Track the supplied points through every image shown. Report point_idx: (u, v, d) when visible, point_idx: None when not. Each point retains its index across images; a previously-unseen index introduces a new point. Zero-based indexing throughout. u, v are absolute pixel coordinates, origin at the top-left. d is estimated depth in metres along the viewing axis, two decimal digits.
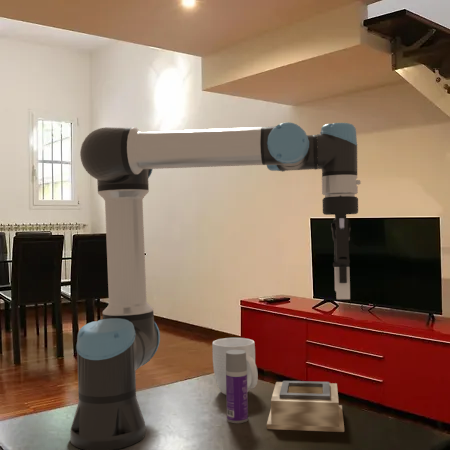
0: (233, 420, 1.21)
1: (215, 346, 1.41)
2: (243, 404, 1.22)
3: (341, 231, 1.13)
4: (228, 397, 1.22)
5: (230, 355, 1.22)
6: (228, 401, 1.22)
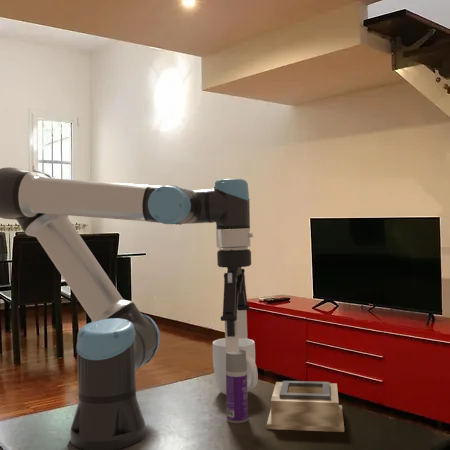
0: (233, 420, 1.21)
1: (215, 346, 1.41)
2: (243, 404, 1.22)
3: (229, 286, 1.16)
4: (228, 397, 1.22)
5: (230, 355, 1.22)
6: (228, 401, 1.22)
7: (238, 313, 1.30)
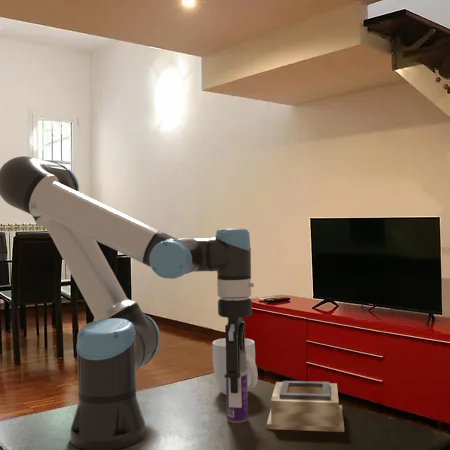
0: (233, 420, 1.21)
1: (215, 346, 1.41)
2: (244, 404, 1.22)
3: (230, 345, 1.17)
4: (228, 397, 1.22)
5: None
6: (228, 401, 1.22)
7: None
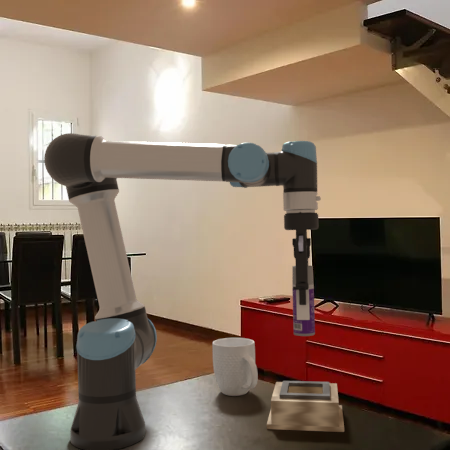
0: (301, 333, 1.21)
1: (215, 346, 1.41)
2: (311, 317, 1.21)
3: (300, 255, 1.17)
4: (295, 311, 1.21)
5: None
6: (295, 315, 1.21)
7: None
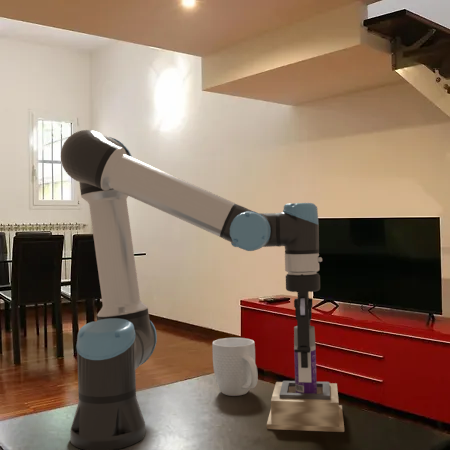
0: None
1: (215, 346, 1.41)
2: (313, 379, 1.21)
3: (302, 319, 1.17)
4: (297, 372, 1.21)
5: None
6: (297, 376, 1.21)
7: None
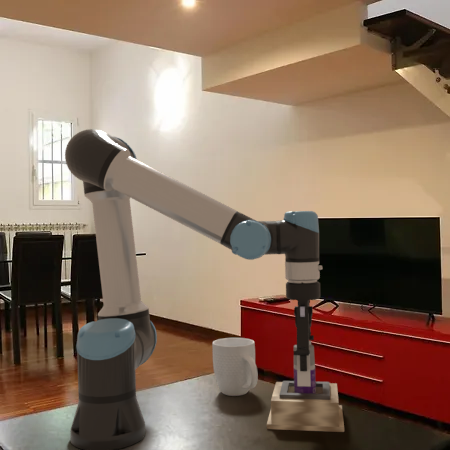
0: None
1: (215, 346, 1.41)
2: None
3: (302, 320, 1.16)
4: (297, 391, 1.21)
5: None
6: None
7: None
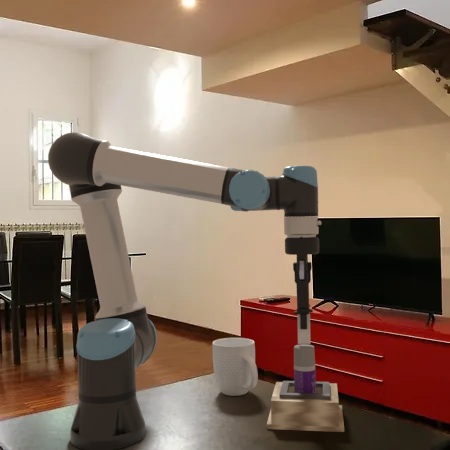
0: None
1: (215, 346, 1.41)
2: None
3: (301, 283, 1.18)
4: (297, 392, 1.21)
5: (299, 350, 1.21)
6: None
7: None
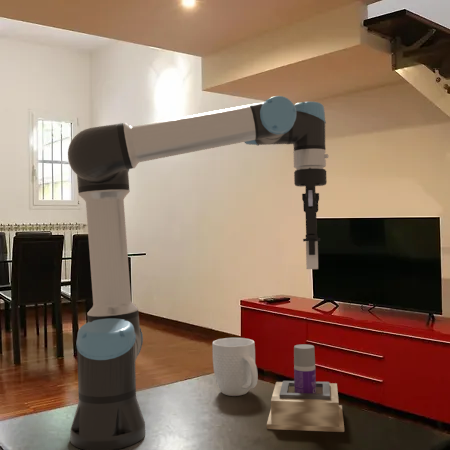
0: None
1: (215, 346, 1.41)
2: None
3: (310, 209, 1.26)
4: (297, 392, 1.21)
5: (299, 349, 1.21)
6: None
7: None
